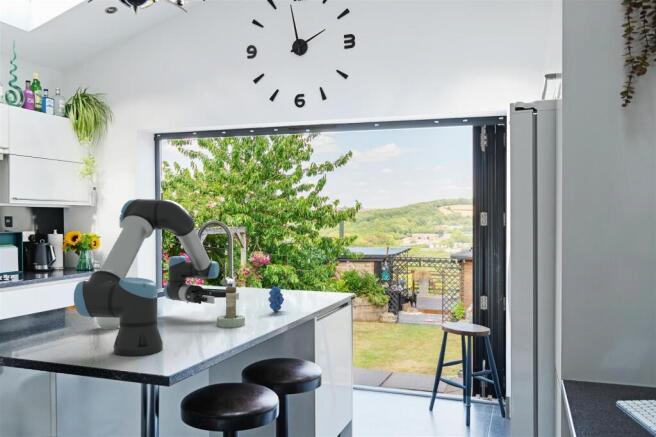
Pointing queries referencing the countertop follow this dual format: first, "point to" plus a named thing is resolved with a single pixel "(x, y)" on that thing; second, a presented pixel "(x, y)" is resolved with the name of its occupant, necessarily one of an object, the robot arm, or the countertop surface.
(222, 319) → the pale green ring
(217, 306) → the countertop surface
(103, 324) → the lidded jar
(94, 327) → the countertop surface
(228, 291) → the birch dowel
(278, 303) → the grapes
